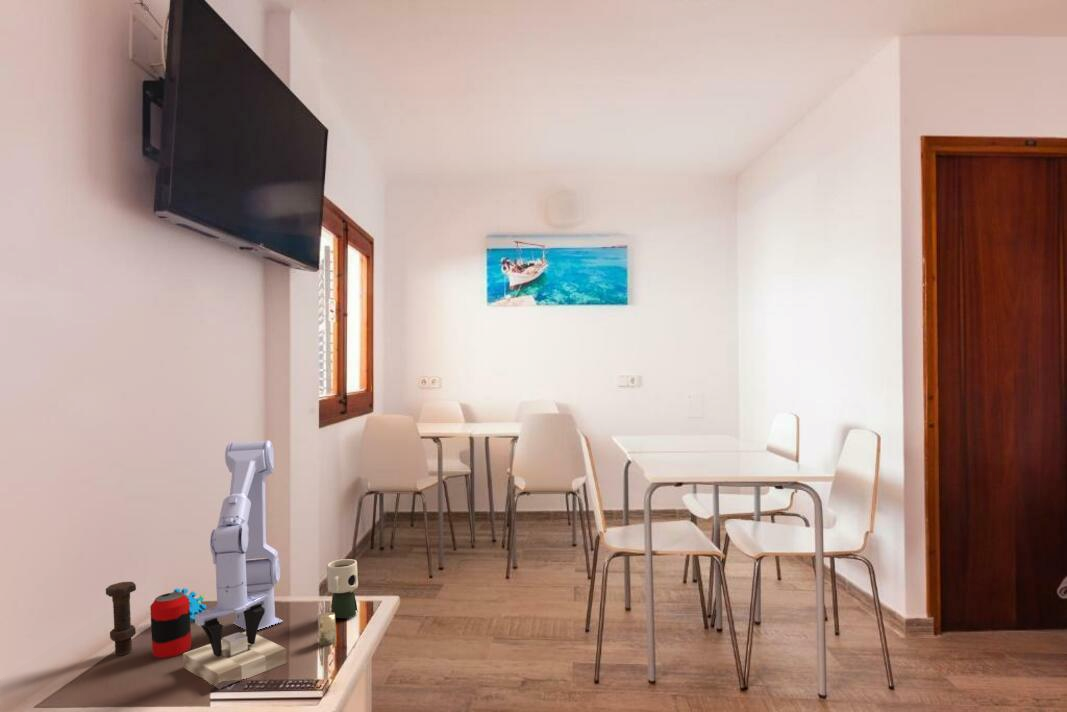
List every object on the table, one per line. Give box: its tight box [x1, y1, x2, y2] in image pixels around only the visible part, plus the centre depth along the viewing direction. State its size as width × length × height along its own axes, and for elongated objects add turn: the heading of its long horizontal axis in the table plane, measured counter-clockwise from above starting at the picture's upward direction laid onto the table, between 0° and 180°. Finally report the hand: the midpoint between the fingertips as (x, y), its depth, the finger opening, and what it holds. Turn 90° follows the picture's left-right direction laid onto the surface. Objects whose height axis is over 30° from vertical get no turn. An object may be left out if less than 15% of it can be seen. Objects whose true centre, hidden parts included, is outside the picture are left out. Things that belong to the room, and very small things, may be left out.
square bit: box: [221, 631, 248, 658], centre depth 141 cm, size 4×4×6 cm
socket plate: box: [182, 631, 287, 686], centre depth 141 cm, size 16×14×3 cm
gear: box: [171, 588, 207, 622], centre depth 169 cm, size 11×6×10 cm
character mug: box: [326, 558, 359, 620], centre depth 166 cm, size 11×7×13 cm, turn 177°
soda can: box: [149, 591, 192, 659], centre depth 150 cm, size 8×8×12 cm
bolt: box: [105, 581, 137, 656], centre depth 150 cm, size 6×5×15 cm
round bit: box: [317, 611, 337, 647], centre depth 151 cm, size 4×4×6 cm
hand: (234, 648), depth 141 cm, fingers open, 6 cm apart
